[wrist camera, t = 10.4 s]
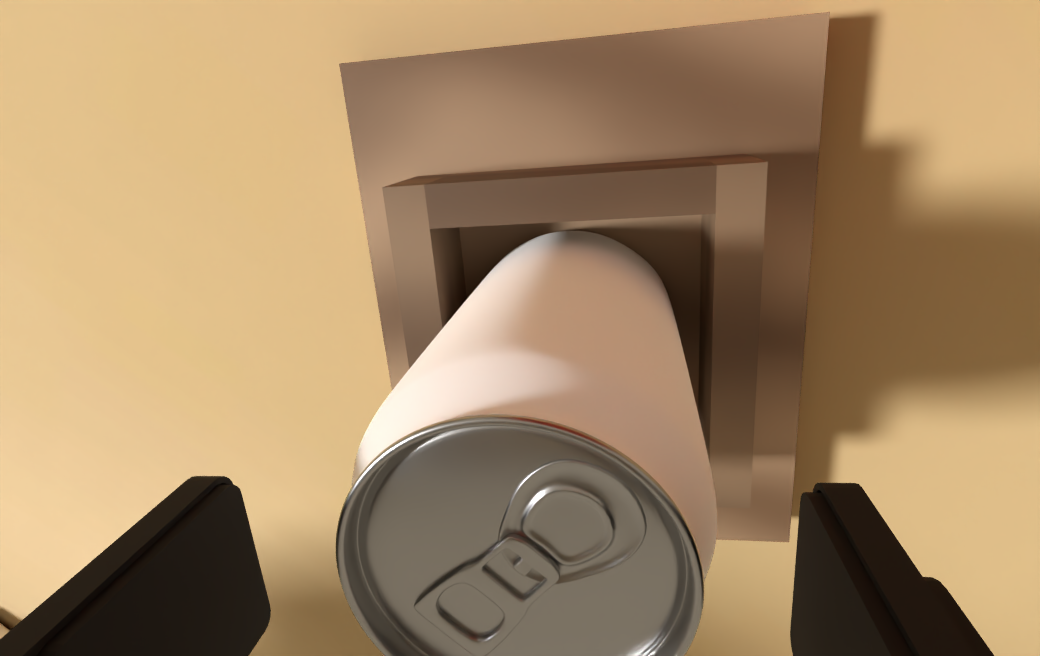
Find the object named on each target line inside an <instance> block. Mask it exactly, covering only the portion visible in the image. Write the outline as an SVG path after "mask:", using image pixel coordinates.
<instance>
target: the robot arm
mask: <svg viewBox="0 0 1040 656" xmlns="http://www.w3.org/2000/svg"><path fill="white" fill-rule="evenodd" d="M270 612H271V610H270V604H269V600H268V596H267V592H266V588H265V584H264V580H263V576H262V572H261V568H260V564H259V560H258V557H257V553H256V549H255V545H254V541H253V537H252V533H251V529H250V525H249V521H248V517H247V513H246V509H245V506H244V502H243V498H242V494H241V491H240V489H239V488H238V487H237V486H235V485H233V483H232V481H231V480H230V479H229V478H227V477H225V476H195V477H191V478H190V479H188V480H186V481H185V482H184V483H183V484H182V485H181V486H179V487H178V488H177V489H176V490H175V491H174V492H172V493H171V494H170V495H169V496H168V497H167V498H165V499H164V500H163V501H162V502H161V503H159V504H158V505H157V506H156V507H155V508H154V509H152V510H151V511H150V512H149V513H148V514H147V515H145V516H144V517H143V518H142V519H141V520H139V521H138V522H137V523H136V524H135V525H134V526H132V527H131V528H130V529H129V530H128V531H127V532H125V533H124V534H123V535H122V536H121V537H120V538H118V539H117V540H116V541H115V542H114V543H112V544H111V545H110V546H109V547H108V548H107V549H105V550H104V551H103V552H102V553H101V554H100V555H98V556H97V557H96V558H95V559H94V560H92V561H91V562H90V563H89V564H88V565H87V566H85V567H84V568H83V569H82V570H81V571H80V572H78V573H77V574H76V575H75V576H74V577H73V578H71V579H70V580H69V581H68V582H67V583H65V584H64V585H63V586H62V587H61V588H60V589H58V590H57V591H56V592H55V593H54V594H53V595H51V596H50V597H49V598H48V599H47V600H46V601H44V602H43V603H42V604H41V605H40V606H38V607H37V608H36V609H35V610H34V611H33V612H31V613H30V614H29V615H28V616H27V617H26V618H24V619H23V620H22V621H21V622H20V623H18V624H17V625H16V626H15V627H14V628H13V629H11V630H9V629H7V628H6V627H4V626H3V625H2V624H0V656H249V654H250V653H251V651H252V650H253V648H254V647H255V645H256V644H257V642H258V641H259V639H260V638H261V636H262V635H263V633H264V632H265V630H266V628H267V626H268V623H269V620H270ZM790 637H791V647H792V652H793V656H994V655H993V653H992V652H991V650H990V649H989V648H988V646H987V645H986V643H985V642H984V641H983V639H982V638H981V636H980V635H979V634H978V632H977V631H976V629H975V628H974V627H973V625H972V624H971V622H970V621H969V620H968V618H967V617H966V615H965V614H964V613H963V611H962V610H961V608H960V607H959V606H958V604H957V603H956V601H955V600H954V599H953V597H952V596H951V594H950V593H949V592H948V590H947V589H946V588H945V587H944V586H943V585H942V583H941V582H940V581H938V580H936V579H934V578H932V577H922V575H921V574H920V572H919V571H918V569H917V568H916V567H915V565H914V564H913V562H912V561H911V559H910V558H909V556H908V555H907V553H906V552H905V550H904V549H903V547H902V546H901V544H900V543H899V541H898V540H897V539H896V537H895V536H894V534H893V533H892V531H891V530H890V528H889V527H888V525H887V524H886V522H885V521H884V519H883V518H882V516H881V515H880V514H879V512H878V511H877V509H876V508H875V506H874V505H873V503H872V502H871V500H870V499H869V497H868V496H867V494H866V493H865V491H864V490H863V488H862V487H861V486H860V485H859V484H856V483H817V484H816V485H815V487H814V489H813V493H812V492H804V493H803V494H802V496H801V501H800V513H799V526H798V539H797V552H796V565H795V578H794V591H793V604H792V617H791V630H790Z"/></svg>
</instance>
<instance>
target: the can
mask: <svg viewBox="0 0 1040 656" xmlns="http://www.w3.org/2000/svg"><path fill="white" fill-rule="evenodd" d="M716 535H717V508H716V497H715V490H714V484H713V479H712V473H711V468H710V463H709V459H708V454H707V450H706V445H705V441H704V436H703V432H702V428H701V424H700V419H699V415H698V411H697V406H696V402H695V398H694V394H693V390H692V385H691V381H690V377H689V373H688V369H687V365H686V360H685V356H684V352H683V348H682V344H681V340H680V336H679V332H678V328H677V324H676V320H675V316H674V313H673V309H672V306H671V302H670V299H669V296H668V294H667V291H666V289H665V286H664V284H663V282H662V280H661V279H660V277H659V275H658V274H657V273H656V271H655V270H654V269H653V268H652V266H651V265H650V264H649V263H648V262H647V261H646V260H644V259H643V258H642V257H641V256H640V255H638V254H637V253H636V252H634V251H633V250H631V249H630V248H628V247H626V246H625V245H623V244H621V243H619V242H617V241H615V240H613V239H611V238H609V237H606V236H603V235H600V234H597V233H592V232H586V231H559V232H553V233H548V234H545V235H541V236H538V237H536V238H533V239H531V240H529V241H527V242H525V243H523V244H521V245H519V246H518V247H516V248H515V249H514V250H512V251H511V252H510V253H508V254H507V255H506V256H505V257H504V258H503V259H502V260H501V261H500V262H499V263H498V264H497V265H496V266H495V267H494V268H493V269H492V270H491V271H490V273H489V274H488V275H487V276H486V277H485V278H484V280H483V281H482V282H481V283H480V284H479V285H478V287H477V288H476V289H475V290H474V291H473V293H472V294H471V295H470V296H469V297H468V299H467V300H466V301H465V302H464V303H463V305H462V306H461V307H460V308H459V309H458V311H457V312H456V313H455V314H454V315H453V317H452V318H451V319H450V320H449V321H448V323H447V324H446V325H445V326H444V327H443V329H442V330H441V331H440V332H439V333H438V335H437V336H436V337H435V338H434V340H433V341H432V342H431V343H430V344H429V346H428V347H427V348H426V349H425V351H424V352H423V353H422V354H421V355H420V357H419V358H418V359H417V360H416V362H415V363H414V364H413V365H412V366H411V368H410V369H409V370H408V371H407V373H406V374H405V375H404V376H403V378H402V379H401V380H400V381H399V383H398V384H397V385H396V386H395V388H394V389H393V390H392V392H391V393H390V394H389V396H388V397H387V398H386V400H385V401H384V402H383V404H382V405H381V407H380V408H379V409H378V411H377V413H376V414H375V416H374V418H373V419H372V421H371V423H370V425H369V427H368V428H367V430H366V432H365V434H364V436H363V439H362V441H361V444H360V446H359V449H358V453H357V456H356V460H355V465H354V471H353V478H352V487H351V489H350V491H349V493H348V495H347V497H346V499H345V502H344V504H343V507H342V510H341V513H340V517H339V521H338V526H337V533H336V561H337V568H338V574H339V578H340V582H341V585H342V589H343V591H344V594H345V597H346V599H347V602H348V604H349V606H350V608H351V610H352V612H353V614H354V616H355V618H356V619H357V621H358V623H359V624H360V626H361V627H362V629H363V630H364V632H365V633H366V634H367V636H368V637H369V638H370V640H371V641H372V642H373V643H374V644H375V646H376V647H377V648H378V649H379V650H380V651H381V652H382V653H383V654H384V655H385V656H684V655H685V654H686V652H687V651H688V649H689V647H690V645H691V643H692V641H693V639H694V637H695V634H696V632H697V629H698V626H699V623H700V619H701V615H702V609H703V602H704V580H705V578H706V575H707V573H708V570H709V567H710V564H711V561H712V557H713V553H714V549H715V543H716Z"/></svg>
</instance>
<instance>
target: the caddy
mask: <svg viewBox="0 0 1040 656" xmlns="http://www.w3.org/2000/svg"><path fill="white" fill-rule="evenodd" d="M829 15H830V12H825V13H816V14H806V15H797V16H787V17H778V18H768V19H759V20H749V21H740V22H730V23H721V24H711V25H702V26H692V27H683V28H673V29H664V30H655V31H645V32H636V33H626V34H617V35H607V36H598V37H588V38H579V39H569V40H560V41H550V42H541V43H531V44H522V45H512V46H503V47H493V48H484V49H474V50H465V51H455V52H446V53H436V54H427V55H417V56H408V57H398V58H389V59H379V60H370V61H360V62H351V63H341V64H339V65H340V71H341V77H342V84H343V90H344V96H345V102H346V108H347V115H348V121H349V127H350V133H351V139H352V146H353V152H354V158H355V164H356V170H357V177H358V183H359V189H360V195H361V201H362V208H363V214H364V220H365V226H366V232H367V238H368V245H369V251H370V257H371V263H372V269H373V276H374V282H375V288H376V294H377V300H378V307H379V313H380V319H381V325H382V331H383V338H384V344H385V350H386V356H387V362H388V369H389V375H390V381H391V387H392V390H393V389H394V388H395V386H396V385H397V384H398V383H399V381H400V380H401V379H402V378H403V376H404V375H405V374H406V373H407V371H408V370H409V369H410V368H411V366H412V365H413V364H414V363H415V362H416V360H417V359H418V358H419V357H420V355H421V354H422V353H423V352H424V351H425V349H426V348H427V347H428V346H429V344H430V343H431V342H432V341H433V340H434V338H435V337H436V336H437V335H438V333H439V332H440V331H441V330H442V329H443V327H444V326H445V325H446V324H447V323H448V321H449V320H450V319H451V318H452V317H453V315H454V314H455V313H456V312H457V311H458V309H459V308H460V307H461V306H462V305H463V303H464V302H465V301H466V300H467V299H468V297H469V296H470V295H471V294H472V293H473V291H474V290H475V289H476V288H477V287H478V285H479V284H480V283H481V282H482V281H483V280H484V278H485V277H486V276H487V275H488V274H489V273H490V271H491V270H492V269H493V268H494V267H495V266H496V265H497V264H498V263H499V262H500V261H501V260H502V259H503V258H504V257H505V256H506V255H507V254H508V253H510V252H511V251H512V250H514V249H515V248H516V247H518V246H519V245H521V244H523V243H525V242H527V241H529V240H531V239H533V238H536V237H538V236H541V235H545V234H548V233H553V232H559V231H586V232H592V233H597V234H600V235H603V236H606V237H609V238H611V239H613V240H615V241H617V242H619V243H621V244H623V245H625V246H626V247H628V248H630V249H631V250H633V251H634V252H636V253H637V254H638V255H640V256H641V257H642V258H643V259H644V260H646V261H647V262H648V263H649V264H650V265H651V266H652V268H653V269H654V270H655V271H656V273H657V274H658V275H659V277H660V279H661V280H662V282H663V284H664V286H665V289H666V291H667V294H668V296H669V299H670V302H671V306H672V309H673V313H674V316H675V320H676V324H677V328H678V332H679V336H680V340H681V344H682V348H683V352H684V356H685V360H686V365H687V369H688V373H689V377H690V381H691V385H692V390H693V394H694V398H695V402H696V406H697V411H698V415H699V419H700V424H701V428H702V432H703V436H704V441H705V445H706V450H707V454H708V459H709V463H710V468H711V473H712V479H713V484H714V490H715V497H716V508H717V535H716V539H720V540H747V541H773V542H789V536H790V523H791V510H792V497H793V484H794V471H795V458H796V445H797V432H798V419H799V406H800V393H801V380H802V367H803V354H804V341H805V328H806V315H807V302H808V288H809V275H810V262H811V249H812V236H813V223H814V210H815V197H816V184H817V171H818V158H819V145H820V132H821V119H822V106H823V93H824V80H825V67H826V54H827V41H828V28H829Z"/></svg>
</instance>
